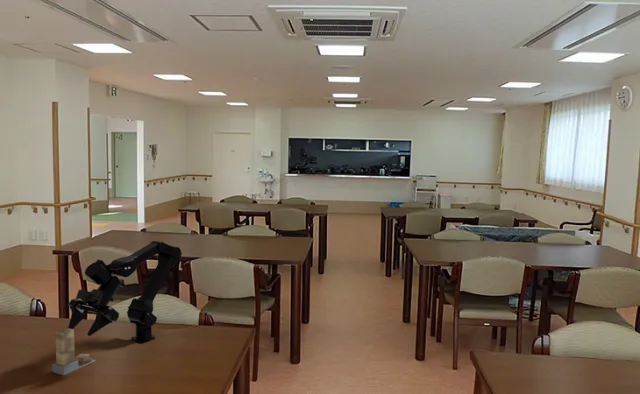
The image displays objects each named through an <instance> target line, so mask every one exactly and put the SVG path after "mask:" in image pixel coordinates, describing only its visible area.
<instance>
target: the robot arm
mask: <svg viewBox="0 0 640 394" xmlns="http://www.w3.org/2000/svg"><path fill="white" fill-rule="evenodd" d="M156 255H157V265H156V267H155V269H154V270H153V273H152V274H151V276H150V278H149V280H148V282H147V283H146V286H145V287H144V289H143V291H142V293H141V295H140V296H139V297H138V298H134V297H133V298H132V299H131V301H130V303H129V306H128V307H127V312H126V314H127V319H128V320H129V323H130V324H134V325H135V326H134V330H135V331H134V332H135V333H134V334H135V335H134V336H132V337H131V340H133V341H134V342H135V341H136V342H137V343H139V344H142V343H145V342H149V341H151V340H155V339H156V336H154V335H153V333H152V331H153V329H152V326H154V325H155V324H156V323H157V320H158V317H157V316H156V315H155V314H154V313H153V311H154V301H155V299H156V296H157V294H158V293H159V290H160V288H161V287H162V285H163V283H164V280H165V278H166V276H167V274H168V272H169V271H170V269H172V268H173V267H174V266H176V265H177V264H178V262H179V261H180V259H181V257H182V251H181V248H180V247H178V246H172V245H170V244H167V243H165V242H163V241H159V240H152V241H150V243H148V244H147V245H145V246H143V247H142V248H140V249H138V250H137V251H134V252H133V253H131V254H130V255H128V256H121V257H118V258H115V259H114V260H112V261H111V262H110V263H108V264H107V263H105V261H103V259H97V260H96V261H94V262H93V263H91V264H89V265H88V266H86V268H85V271H84V275H85V276H86V277H87V278H88V279H90V280H91V281H92V282H93V283H95V284H96V285H99V286H98V287H97V289H96V288H94V289H91V291H88V290H85V289H84V290H83V289H78V290H77V294H76V296H75V298H73V299H70V301H69V302H68V304H67V306H69V309H70V311H71V317H70V319H69V324H68V326H67V328H69V329H73V330H74V328H76V327H77V326H78V325H79V323H81V321H82V320H84V318H85V317H86V316H87V315H86V314H88V313H89V312H90V313H95V320H94V321H93V323H92V324H91V327H90V328H89V330H88V331H87V336H88V337H91V336H93V335H94V334H96V333H97V332H98V331H99V330H101V329H103V328H105V327H106V326H107V325H109V324H113V322H118V321H117V320H118V319H119V317H120V313H119V312H118V311H117V310H116V309H115V308H114V307H113V306H109V303H111V302H112V303H113V301H114V300H115V299H114V295H115V294H116V292H117V290H118V289H119V288H125V287H126V284H125V279H122V277H123V278H128V277H130V276H131V275H133V273H135V272H136V270H137V268H138V267H139V265H141V264H143V263H144V262H146V261H148V260H149V259H151V258H152V257H154V256H156ZM119 277H121V278H119Z"/></svg>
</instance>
